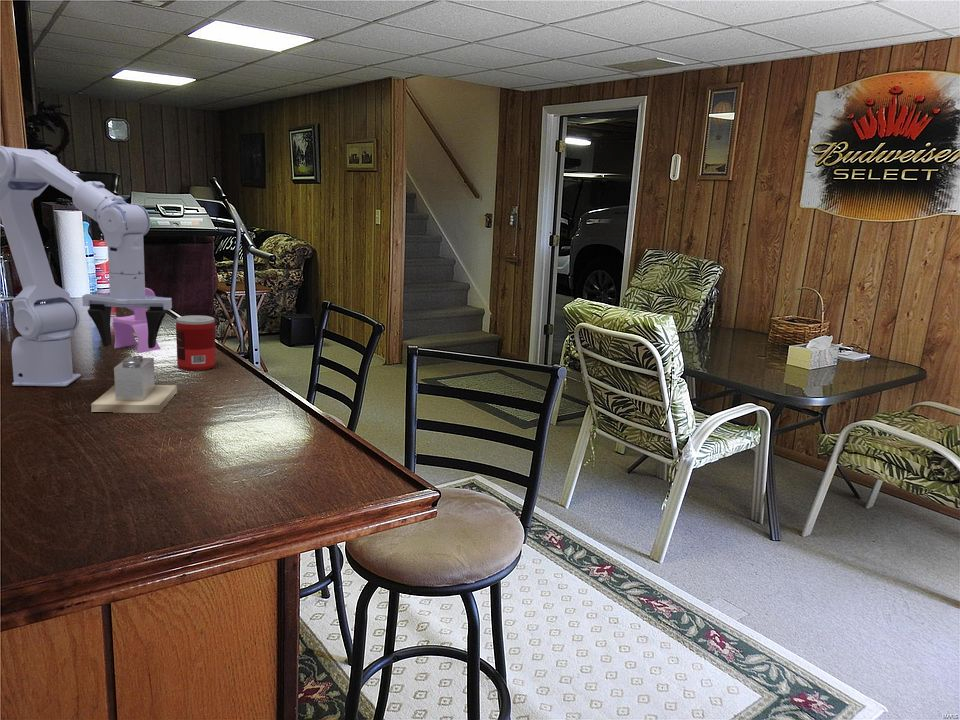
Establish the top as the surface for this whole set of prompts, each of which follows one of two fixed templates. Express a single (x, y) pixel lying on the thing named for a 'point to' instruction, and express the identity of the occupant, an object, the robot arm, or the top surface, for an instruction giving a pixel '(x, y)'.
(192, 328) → the canned food
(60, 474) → the top surface
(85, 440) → the top surface
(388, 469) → the top surface
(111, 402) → the stand
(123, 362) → the housing
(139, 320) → the toy chair
